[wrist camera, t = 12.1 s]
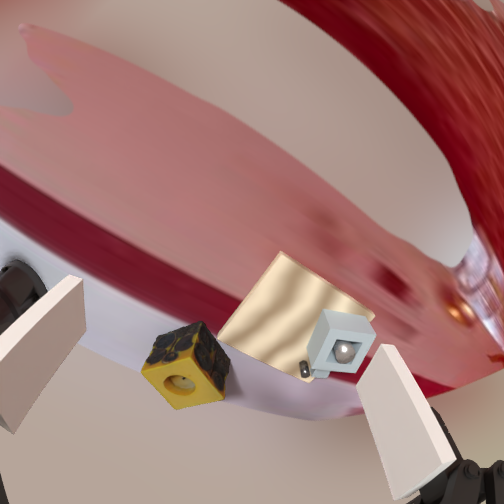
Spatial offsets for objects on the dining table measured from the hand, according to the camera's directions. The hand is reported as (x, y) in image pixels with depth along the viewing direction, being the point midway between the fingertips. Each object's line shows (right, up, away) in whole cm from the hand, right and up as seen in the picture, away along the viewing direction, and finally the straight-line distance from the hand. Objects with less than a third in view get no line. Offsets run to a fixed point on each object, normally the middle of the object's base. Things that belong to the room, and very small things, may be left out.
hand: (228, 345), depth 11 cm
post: (+15, -10, +34) cm, 39 cm away
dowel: (+10, -16, +37) cm, 41 cm away
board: (+8, -8, +36) cm, 38 cm away
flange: (+14, -12, +35) cm, 40 cm away
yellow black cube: (-10, -14, +38) cm, 41 cm away
